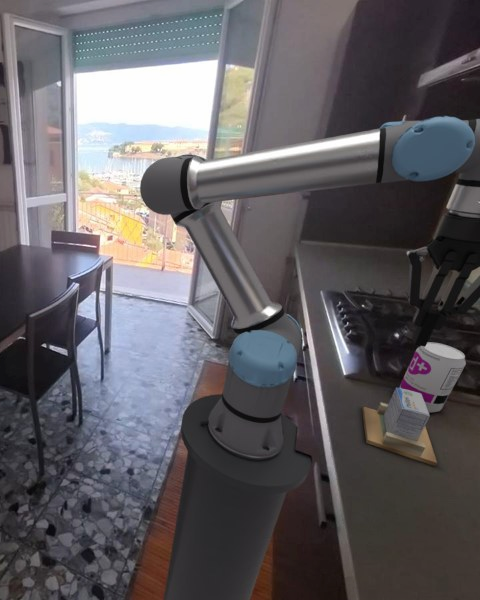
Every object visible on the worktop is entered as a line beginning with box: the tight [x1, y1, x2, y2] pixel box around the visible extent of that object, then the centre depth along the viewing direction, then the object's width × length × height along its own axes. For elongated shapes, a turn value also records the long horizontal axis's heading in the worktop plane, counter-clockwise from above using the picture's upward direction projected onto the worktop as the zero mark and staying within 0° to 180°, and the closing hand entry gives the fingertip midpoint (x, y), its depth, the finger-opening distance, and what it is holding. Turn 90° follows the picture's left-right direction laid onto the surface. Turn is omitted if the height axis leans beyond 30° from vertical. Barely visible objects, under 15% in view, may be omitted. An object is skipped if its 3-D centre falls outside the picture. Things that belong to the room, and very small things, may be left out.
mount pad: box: [361, 402, 438, 467], centre depth 76 cm, size 11×12×4 cm
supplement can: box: [398, 341, 467, 414], centre depth 83 cm, size 8×8×15 cm
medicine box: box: [383, 387, 431, 441], centre depth 75 cm, size 8×4×9 cm, turn 148°
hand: (418, 342), depth 66 cm, fingers closed
